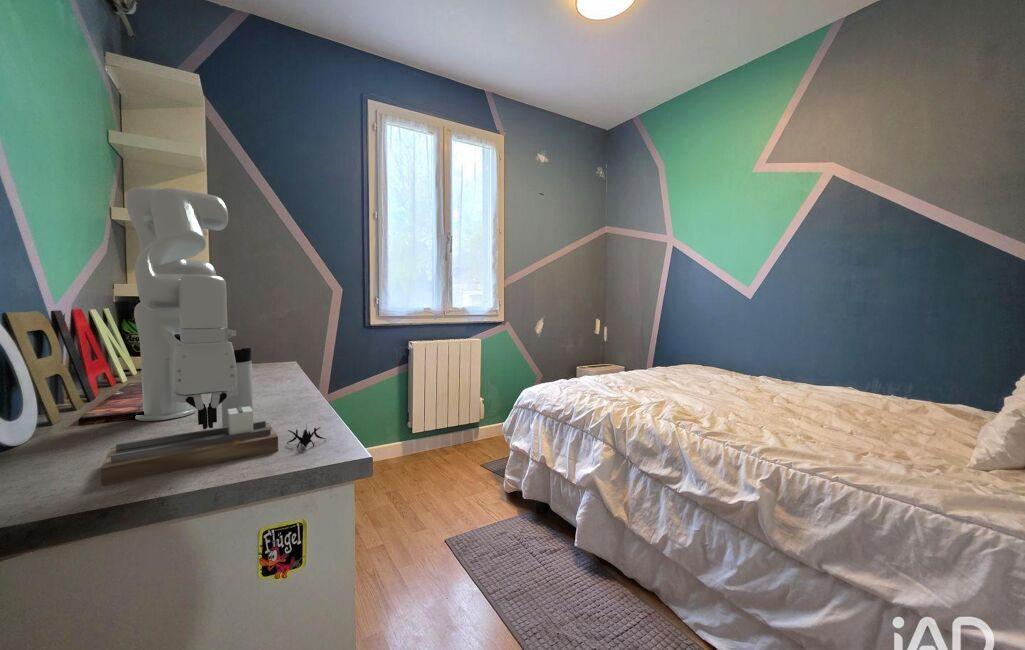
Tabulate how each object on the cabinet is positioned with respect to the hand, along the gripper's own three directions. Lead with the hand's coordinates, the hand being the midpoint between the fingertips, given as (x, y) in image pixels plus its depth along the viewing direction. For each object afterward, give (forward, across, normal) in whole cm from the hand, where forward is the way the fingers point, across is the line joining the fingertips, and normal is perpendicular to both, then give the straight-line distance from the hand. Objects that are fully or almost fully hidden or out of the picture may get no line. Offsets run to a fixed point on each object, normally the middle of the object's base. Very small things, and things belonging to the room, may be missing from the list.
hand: (207, 426), depth 81 cm
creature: (+6, -17, +6) cm, 19 cm away
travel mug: (+6, -7, -16) cm, 18 cm away
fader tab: (+3, -6, 0) cm, 6 cm away
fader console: (+6, +2, 0) cm, 6 cm away
